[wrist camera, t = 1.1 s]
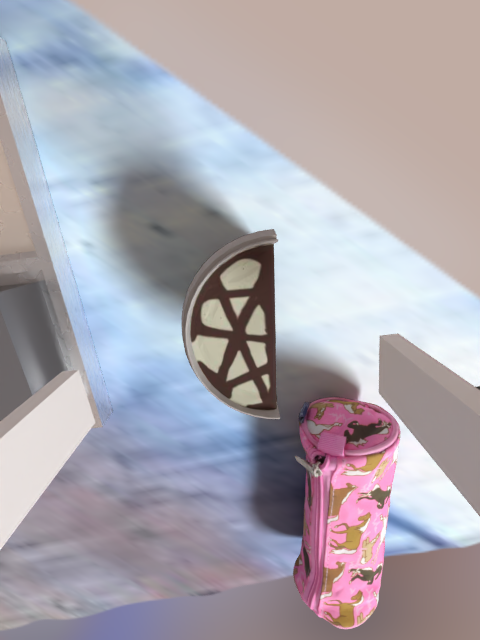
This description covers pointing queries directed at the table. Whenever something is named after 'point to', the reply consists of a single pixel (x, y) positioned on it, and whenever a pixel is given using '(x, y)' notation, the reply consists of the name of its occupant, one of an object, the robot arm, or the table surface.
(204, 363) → the food container
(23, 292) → the grey rectangular box
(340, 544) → the pencil case
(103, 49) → the table surface
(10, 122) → the rack
